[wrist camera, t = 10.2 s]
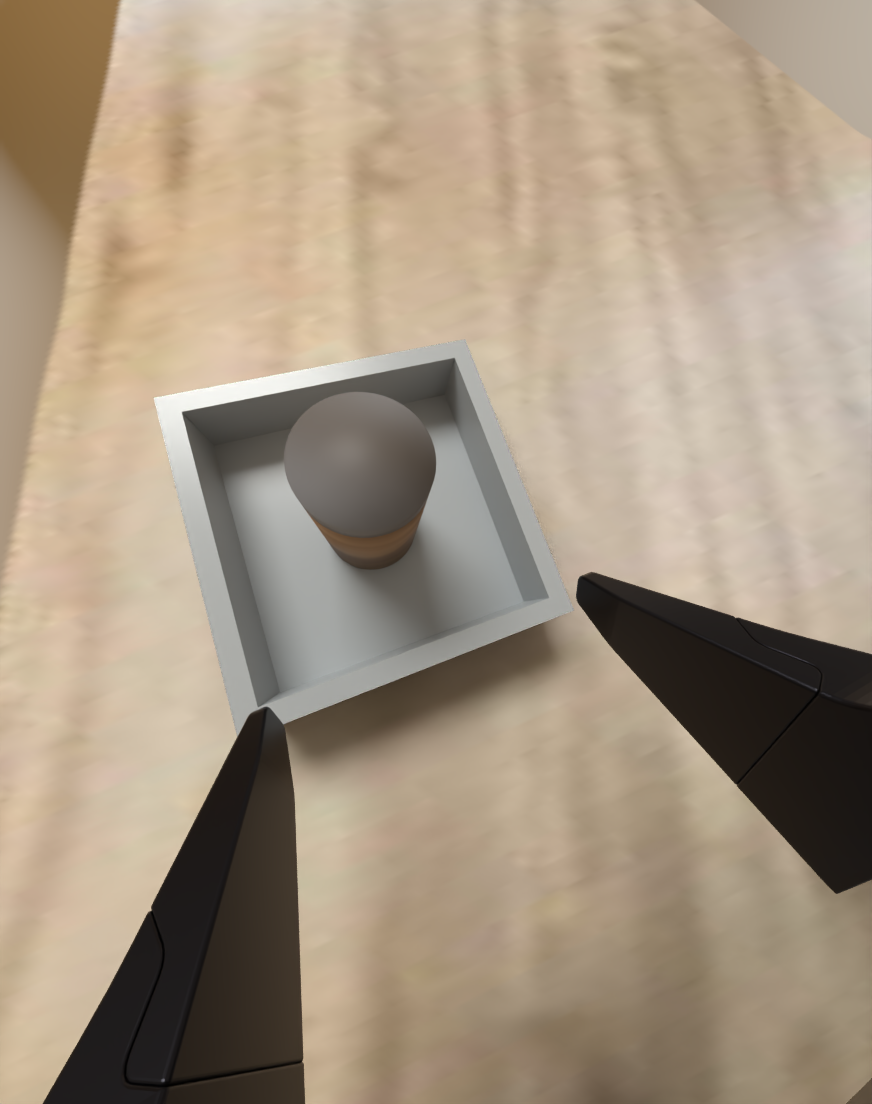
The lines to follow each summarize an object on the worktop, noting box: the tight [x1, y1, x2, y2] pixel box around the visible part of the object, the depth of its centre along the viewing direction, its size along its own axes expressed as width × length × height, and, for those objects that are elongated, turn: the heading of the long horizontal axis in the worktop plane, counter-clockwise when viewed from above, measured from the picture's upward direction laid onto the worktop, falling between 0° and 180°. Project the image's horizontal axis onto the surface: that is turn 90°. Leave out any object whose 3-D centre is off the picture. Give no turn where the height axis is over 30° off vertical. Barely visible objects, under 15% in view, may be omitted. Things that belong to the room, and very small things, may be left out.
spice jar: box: [284, 392, 436, 570], centre depth 16 cm, size 5×5×8 cm
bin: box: [154, 339, 574, 737], centre depth 19 cm, size 16×16×4 cm
